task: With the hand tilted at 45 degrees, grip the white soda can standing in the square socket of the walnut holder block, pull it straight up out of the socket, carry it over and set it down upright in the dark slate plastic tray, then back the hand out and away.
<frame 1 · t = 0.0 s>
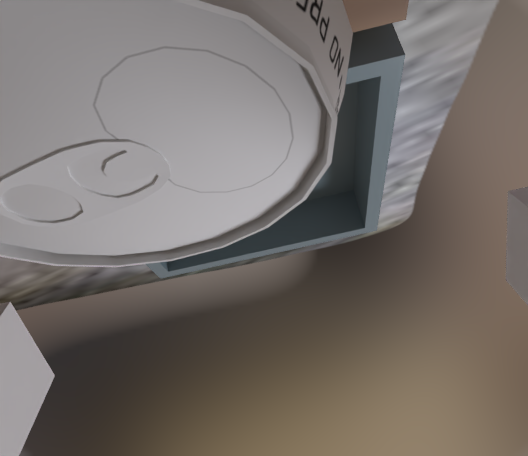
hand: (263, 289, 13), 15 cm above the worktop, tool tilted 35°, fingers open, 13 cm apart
tray: (235, 142, 32), on the worktop
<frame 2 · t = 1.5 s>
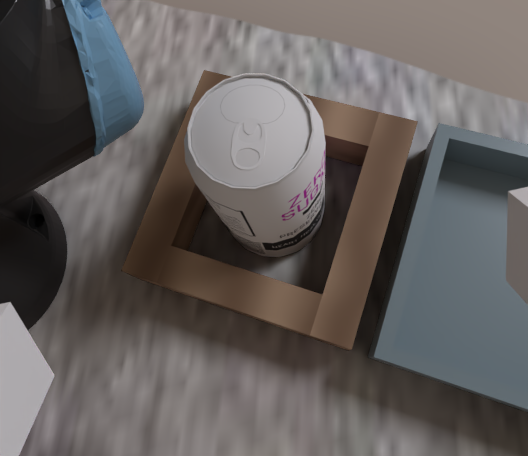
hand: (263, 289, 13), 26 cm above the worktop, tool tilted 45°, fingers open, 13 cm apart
tray: (521, 283, 36), on the worktop
white soda can: (275, 212, 40), resting in can holder
can holder: (275, 211, 40), on the worktop
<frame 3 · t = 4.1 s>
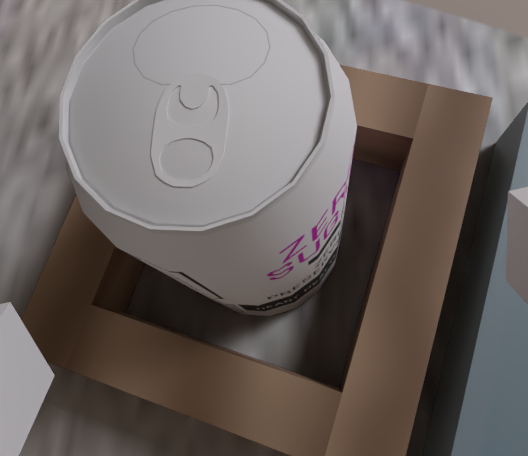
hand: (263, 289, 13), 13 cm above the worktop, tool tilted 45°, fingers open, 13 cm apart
white soda can: (264, 242, 26), resting in can holder
can holder: (263, 241, 26), on the worktop
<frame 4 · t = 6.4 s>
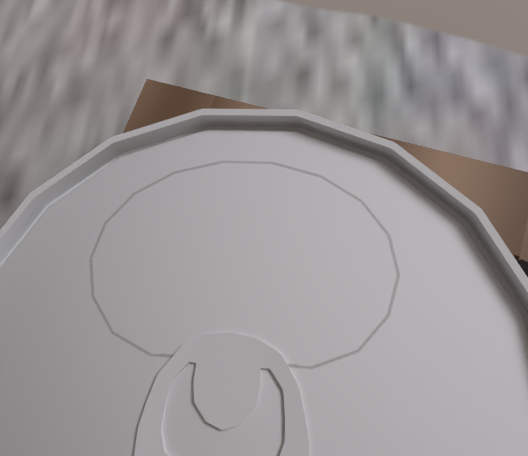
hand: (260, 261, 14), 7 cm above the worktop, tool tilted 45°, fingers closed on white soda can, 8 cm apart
white soda can: (296, 373, 20), resting in can holder, touching gripper
can holder: (296, 372, 19), on the worktop
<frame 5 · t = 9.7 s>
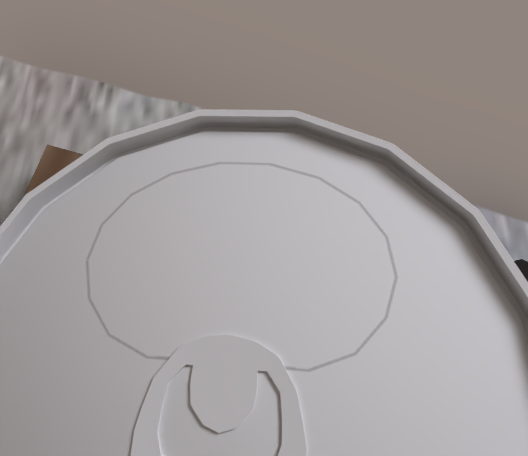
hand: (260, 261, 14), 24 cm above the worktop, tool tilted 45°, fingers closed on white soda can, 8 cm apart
white soda can: (296, 374, 19), point 17 cm above the worktop, touching gripper
can holder: (124, 289, 39), on the worktop
when the fingers open (9 cm above the worktop, at t = 13.2 s): white soda can drops 1 cm, resting on tray.
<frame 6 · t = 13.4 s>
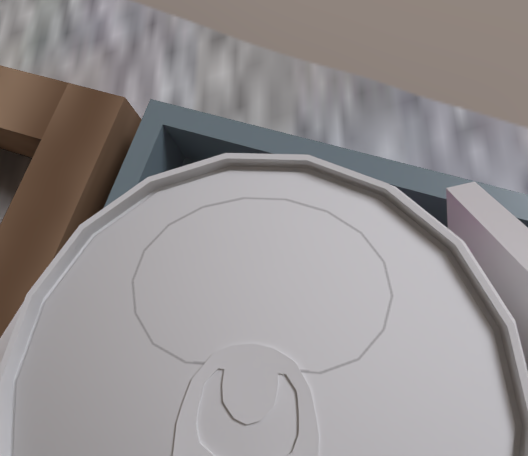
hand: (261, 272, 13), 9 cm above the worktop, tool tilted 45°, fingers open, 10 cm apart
tray: (299, 372, 21), on the worktop
white soda can: (298, 374, 21), point 1 cm above the worktop, touching tray
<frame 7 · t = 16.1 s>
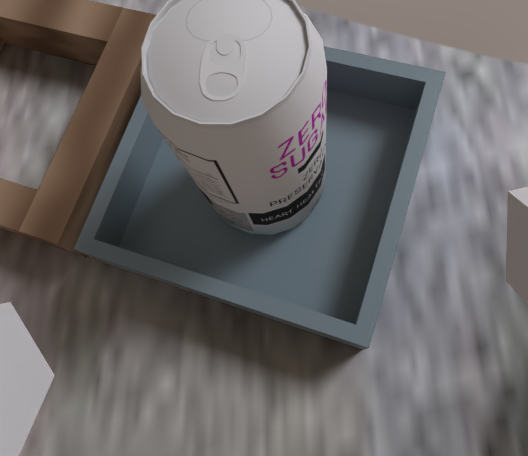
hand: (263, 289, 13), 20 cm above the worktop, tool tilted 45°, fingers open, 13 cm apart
tray: (268, 185, 35), on the worktop
white soda can: (266, 182, 34), point 1 cm above the worktop, touching tray
can holder: (34, 120, 38), on the worktop
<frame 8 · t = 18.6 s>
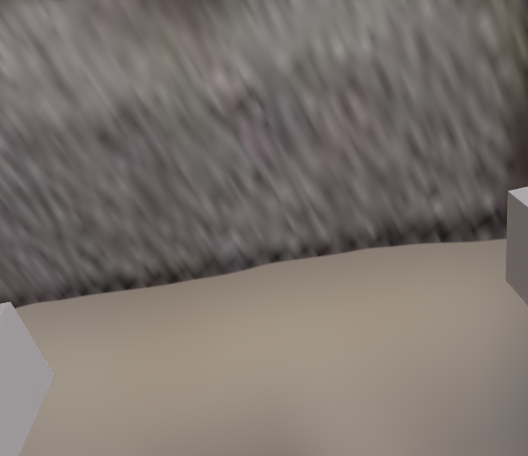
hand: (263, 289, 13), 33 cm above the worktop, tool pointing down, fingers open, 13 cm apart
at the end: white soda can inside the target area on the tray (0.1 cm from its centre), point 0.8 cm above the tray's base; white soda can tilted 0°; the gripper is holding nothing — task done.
